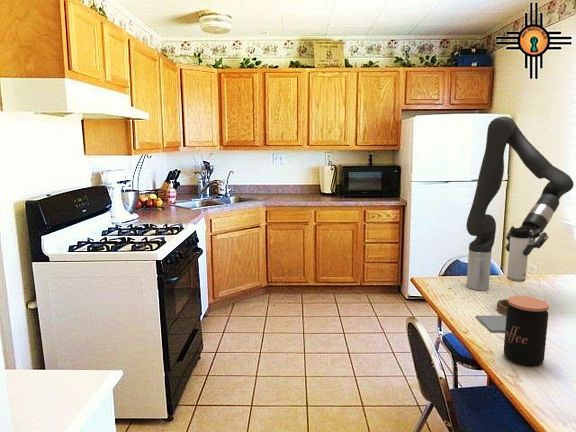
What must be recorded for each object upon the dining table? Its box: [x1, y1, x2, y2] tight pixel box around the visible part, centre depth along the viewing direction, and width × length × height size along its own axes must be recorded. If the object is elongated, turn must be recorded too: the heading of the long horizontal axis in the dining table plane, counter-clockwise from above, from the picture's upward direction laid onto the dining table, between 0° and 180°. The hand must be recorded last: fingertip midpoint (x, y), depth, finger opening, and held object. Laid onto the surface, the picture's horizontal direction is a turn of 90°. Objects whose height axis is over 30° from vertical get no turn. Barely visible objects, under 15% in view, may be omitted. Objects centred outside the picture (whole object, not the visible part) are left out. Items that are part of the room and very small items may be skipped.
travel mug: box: [506, 227, 531, 283], centre depth 161 cm, size 6×7×20 cm
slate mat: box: [475, 315, 506, 334], centre depth 153 cm, size 13×13×1 cm
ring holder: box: [496, 298, 509, 316], centre depth 165 cm, size 11×11×3 cm
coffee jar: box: [503, 295, 550, 368], centre depth 127 cm, size 11×11×18 cm
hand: (516, 252), depth 160 cm, fingers closed on travel mug, 6 cm apart
